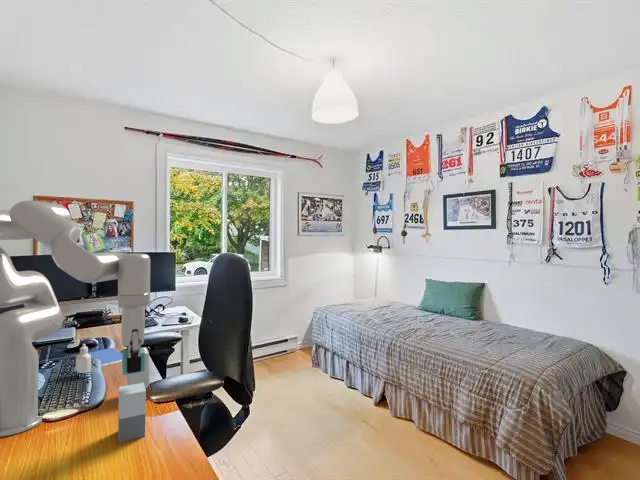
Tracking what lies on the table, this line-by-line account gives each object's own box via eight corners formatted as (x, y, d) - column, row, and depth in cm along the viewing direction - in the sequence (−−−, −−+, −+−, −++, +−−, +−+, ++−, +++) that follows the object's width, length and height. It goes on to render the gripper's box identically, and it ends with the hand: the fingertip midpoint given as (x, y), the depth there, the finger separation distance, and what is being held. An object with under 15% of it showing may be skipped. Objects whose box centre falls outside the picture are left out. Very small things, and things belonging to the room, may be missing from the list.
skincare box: (149, 399, 112) (150, 353, 112) (128, 404, 108) (129, 356, 108) (146, 389, 119) (147, 346, 119) (125, 393, 115) (126, 349, 115)
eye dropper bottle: (77, 380, 125) (77, 347, 125) (75, 375, 129) (76, 343, 129) (91, 377, 128) (92, 344, 127) (89, 372, 132) (90, 341, 132)
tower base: (118, 442, 88) (119, 419, 88) (118, 431, 93) (118, 409, 93) (144, 436, 91) (145, 413, 91) (143, 425, 97) (143, 404, 97)
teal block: (122, 375, 89) (123, 355, 89) (122, 368, 93) (122, 350, 93) (144, 371, 92) (144, 352, 91) (142, 365, 96) (143, 347, 96)
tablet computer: (130, 360, 147) (130, 357, 147) (96, 368, 137) (96, 365, 137) (113, 350, 159) (113, 347, 159) (80, 357, 149) (80, 354, 149)
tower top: (119, 419, 88) (119, 395, 88) (118, 409, 93) (118, 387, 93) (145, 413, 91) (145, 390, 91) (143, 404, 97) (143, 382, 96)
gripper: (117, 296, 97) (116, 360, 98) (118, 307, 83) (117, 383, 83) (146, 294, 101) (145, 356, 102) (153, 304, 87) (152, 376, 87)
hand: (133, 367), depth 92 cm, fingers closed on teal block, 4 cm apart
